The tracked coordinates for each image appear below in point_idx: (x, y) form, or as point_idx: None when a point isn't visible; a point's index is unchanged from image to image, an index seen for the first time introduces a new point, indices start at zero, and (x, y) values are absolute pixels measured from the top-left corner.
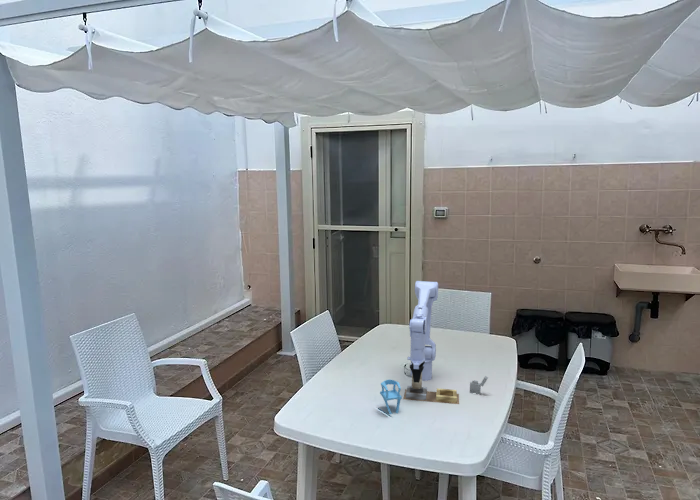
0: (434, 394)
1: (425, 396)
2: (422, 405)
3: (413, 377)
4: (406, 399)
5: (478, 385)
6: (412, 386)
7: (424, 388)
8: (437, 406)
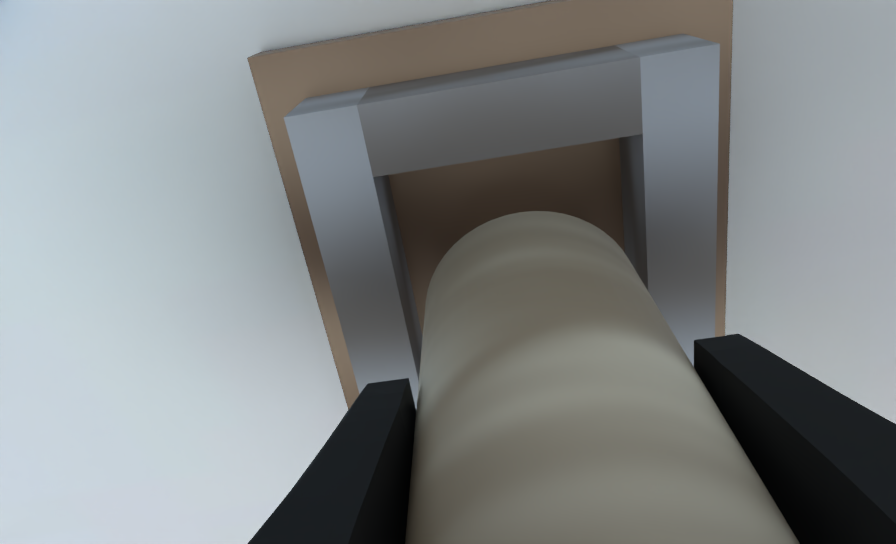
0: None
1: None
2: (278, 355)
3: (306, 480)
4: (266, 122)
5: None
6: (455, 254)
7: None
8: None
